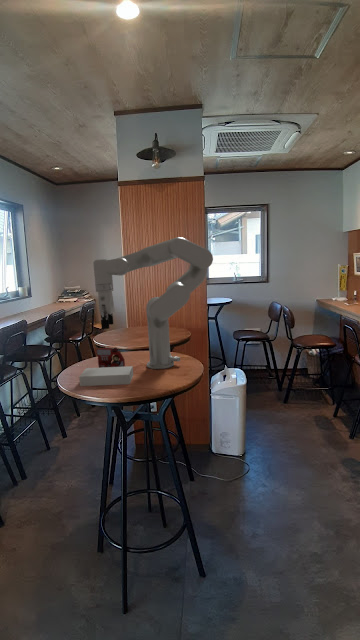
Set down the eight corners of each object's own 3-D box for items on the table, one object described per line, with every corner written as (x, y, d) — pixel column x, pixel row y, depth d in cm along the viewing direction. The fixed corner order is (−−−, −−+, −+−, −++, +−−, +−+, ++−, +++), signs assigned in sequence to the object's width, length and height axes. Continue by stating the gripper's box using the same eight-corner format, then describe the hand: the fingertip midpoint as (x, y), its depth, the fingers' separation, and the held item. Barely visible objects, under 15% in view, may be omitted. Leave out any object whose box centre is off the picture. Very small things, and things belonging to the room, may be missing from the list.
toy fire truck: (122, 372, 163) (120, 349, 161) (95, 372, 165) (93, 350, 163) (126, 367, 170) (125, 345, 168) (100, 367, 172) (99, 346, 170)
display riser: (133, 375, 159) (132, 366, 158) (129, 384, 148) (129, 374, 147) (86, 377, 159) (86, 368, 158) (80, 386, 148) (79, 376, 148)
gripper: (109, 289, 152) (112, 330, 155) (116, 285, 169) (119, 322, 172) (91, 290, 152) (94, 331, 155) (100, 286, 169) (103, 323, 172)
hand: (107, 326), depth 164 cm, fingers open, 9 cm apart
